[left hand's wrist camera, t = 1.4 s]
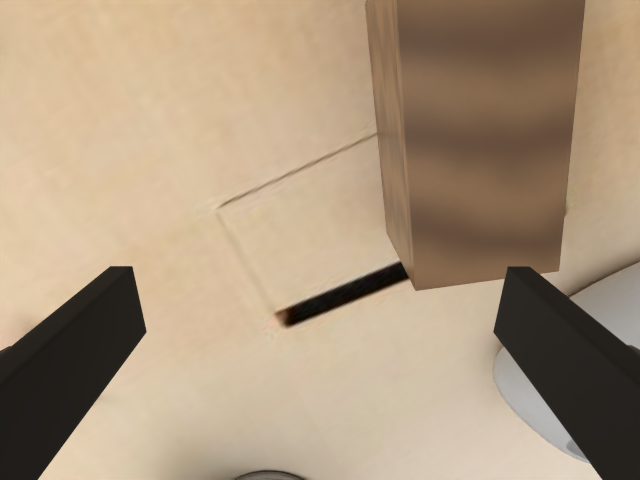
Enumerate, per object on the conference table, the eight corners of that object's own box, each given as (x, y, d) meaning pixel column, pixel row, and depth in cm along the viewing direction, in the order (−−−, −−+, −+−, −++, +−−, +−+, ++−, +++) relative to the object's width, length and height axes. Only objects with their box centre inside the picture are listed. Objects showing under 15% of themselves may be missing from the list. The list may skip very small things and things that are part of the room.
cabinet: (364, 4, 29) (391, -53, 18) (490, -20, 29) (594, -92, 18) (387, 233, 37) (415, 291, 26) (486, 219, 36) (559, 271, 25)
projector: (657, 404, 45) (803, 536, 32) (474, 418, 46) (539, 552, 32) (709, 242, 37) (936, 327, 23) (486, 263, 38) (580, 356, 24)
